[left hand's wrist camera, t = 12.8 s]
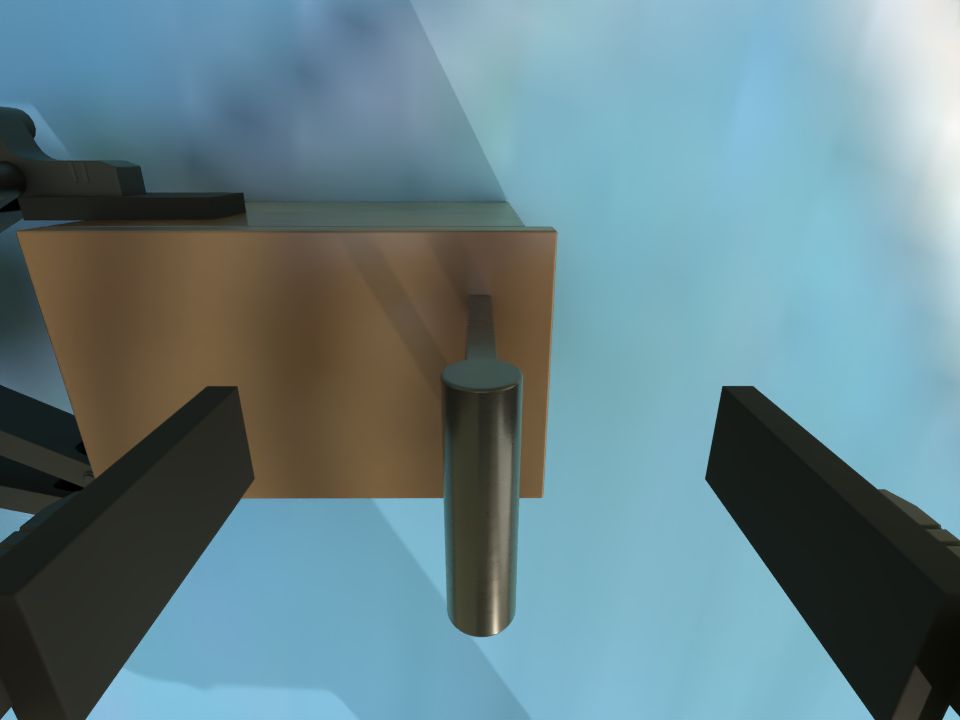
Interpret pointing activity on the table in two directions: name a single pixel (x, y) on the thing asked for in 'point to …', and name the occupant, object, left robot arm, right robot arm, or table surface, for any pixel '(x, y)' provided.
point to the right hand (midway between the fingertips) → (250, 335)
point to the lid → (326, 364)
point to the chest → (344, 216)
